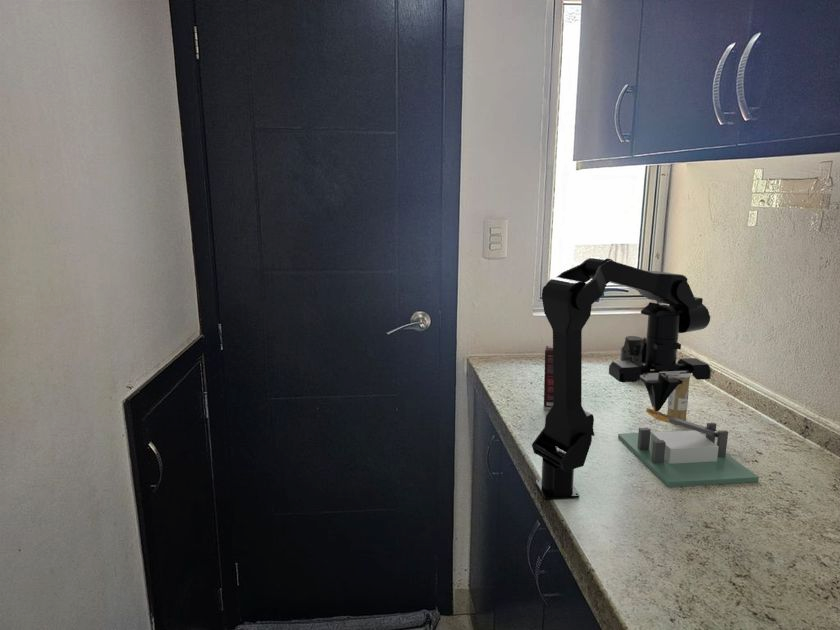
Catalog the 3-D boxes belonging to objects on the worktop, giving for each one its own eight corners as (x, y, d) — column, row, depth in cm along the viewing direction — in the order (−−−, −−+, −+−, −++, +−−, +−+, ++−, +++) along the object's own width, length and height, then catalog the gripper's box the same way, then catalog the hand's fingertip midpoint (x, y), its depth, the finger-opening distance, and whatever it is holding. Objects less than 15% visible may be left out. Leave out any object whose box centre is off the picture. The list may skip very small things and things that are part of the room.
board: (758, 481, 109) (762, 450, 108) (667, 487, 108) (670, 455, 106) (694, 434, 131) (697, 407, 129) (618, 437, 129) (619, 410, 128)
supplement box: (577, 406, 148) (580, 347, 145) (577, 413, 144) (580, 352, 140) (543, 403, 150) (545, 344, 147) (542, 410, 146) (544, 349, 142)
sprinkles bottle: (686, 425, 135) (691, 371, 133) (665, 422, 137) (670, 368, 134) (686, 418, 140) (691, 365, 137) (665, 415, 141) (670, 363, 138)
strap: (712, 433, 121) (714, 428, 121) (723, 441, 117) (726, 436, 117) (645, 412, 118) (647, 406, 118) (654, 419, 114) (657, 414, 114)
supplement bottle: (614, 375, 172) (616, 336, 170) (631, 371, 175) (633, 333, 173) (631, 381, 166) (633, 341, 164) (648, 378, 169) (651, 339, 167)
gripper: (685, 325, 122) (679, 394, 125) (600, 327, 120) (596, 398, 123) (716, 338, 111) (708, 414, 114) (623, 341, 109) (617, 418, 112)
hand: (656, 410), depth 116 cm, fingers closed
